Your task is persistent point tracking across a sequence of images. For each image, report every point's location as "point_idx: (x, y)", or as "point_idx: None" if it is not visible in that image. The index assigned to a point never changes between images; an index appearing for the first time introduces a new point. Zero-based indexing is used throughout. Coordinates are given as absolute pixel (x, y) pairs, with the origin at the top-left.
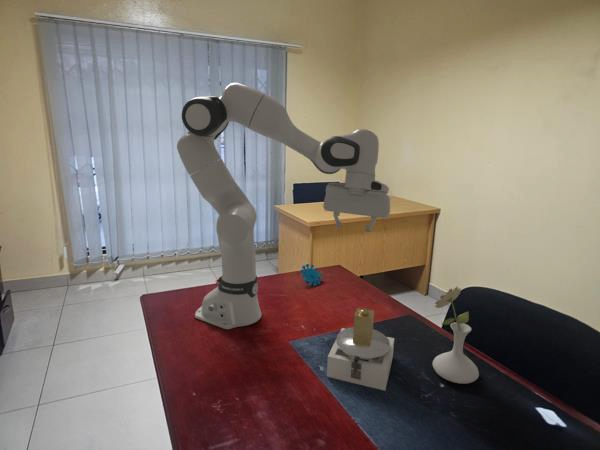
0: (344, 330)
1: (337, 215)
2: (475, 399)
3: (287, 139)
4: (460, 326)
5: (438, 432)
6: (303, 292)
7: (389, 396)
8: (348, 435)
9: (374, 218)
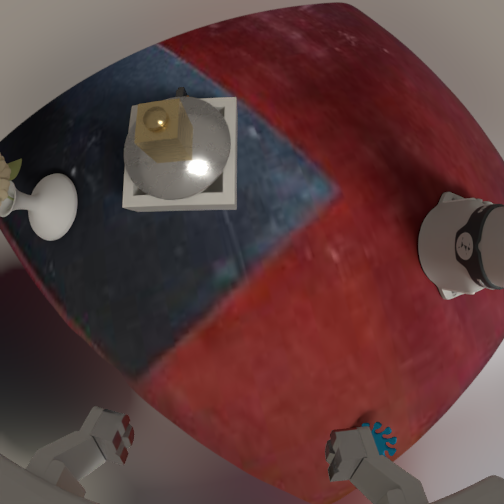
0: (220, 166)
1: (385, 494)
2: (44, 163)
3: None
4: (6, 210)
5: (90, 87)
6: (371, 395)
7: None
8: (185, 40)
9: (36, 463)
